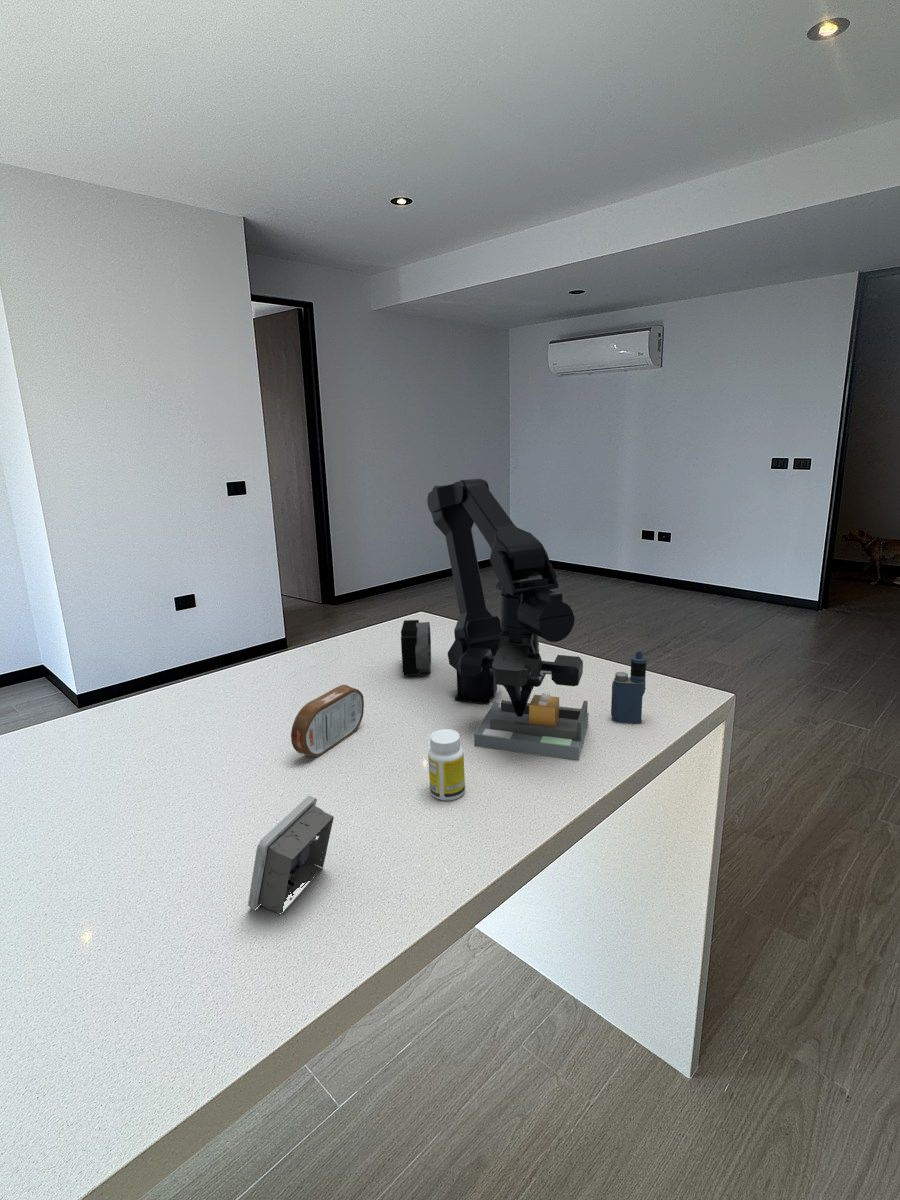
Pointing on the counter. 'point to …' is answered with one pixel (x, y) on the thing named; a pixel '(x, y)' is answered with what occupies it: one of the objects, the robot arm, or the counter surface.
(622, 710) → the vaping device
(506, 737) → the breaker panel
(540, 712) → the block
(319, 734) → the tin
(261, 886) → the electrical switch
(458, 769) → the supplement bottle
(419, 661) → the cpu cooler
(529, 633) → the robot arm
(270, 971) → the counter surface
